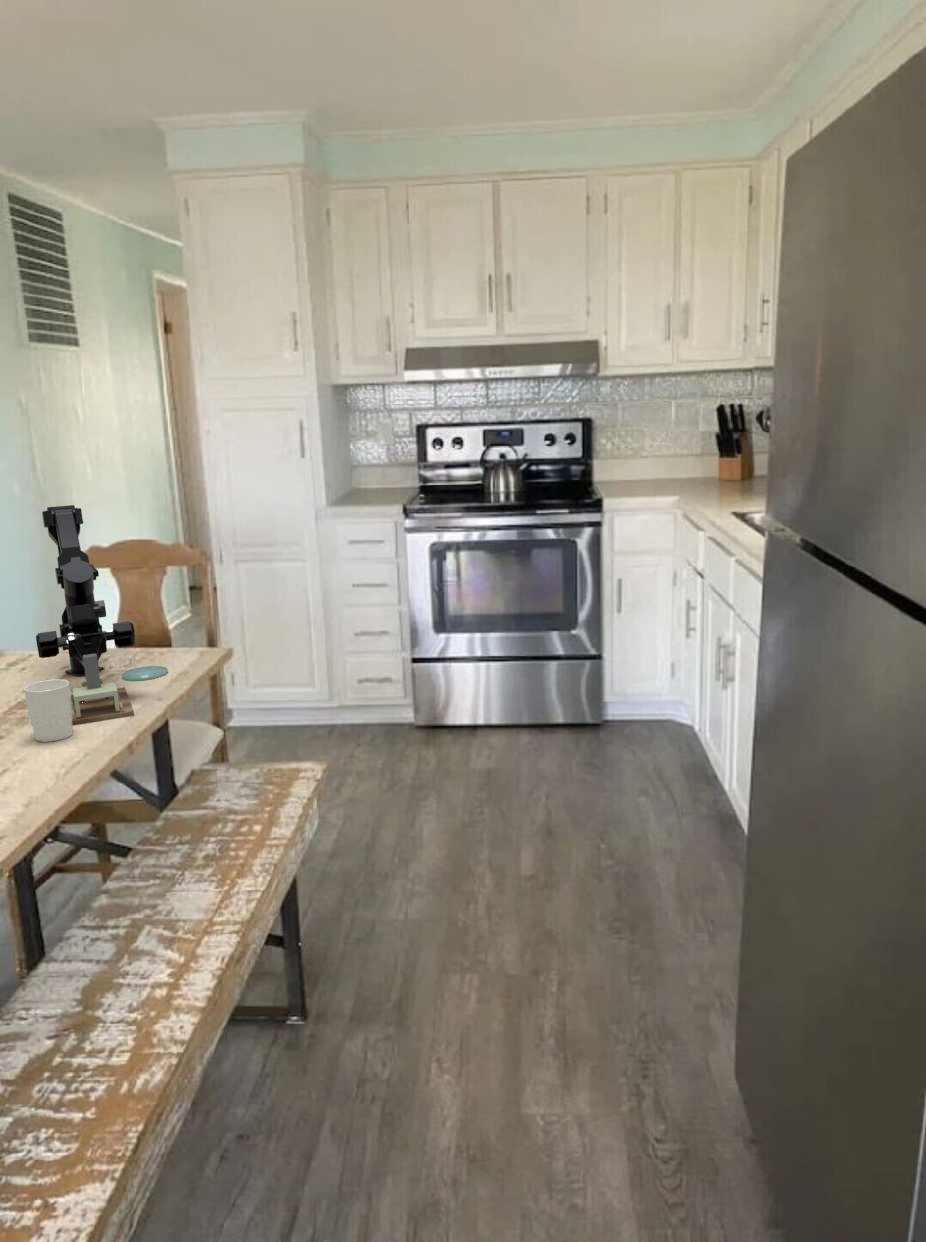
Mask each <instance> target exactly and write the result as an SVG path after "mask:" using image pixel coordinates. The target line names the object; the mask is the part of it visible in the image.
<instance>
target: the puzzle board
mask: <svg viewBox="0 0 926 1242" xmlns="http://www.w3.org/2000/svg"><path fill="white" fill-rule="evenodd" d="M116 688H117V692H118V700H119V707H120V711H116V710H115V707H114V704H113V697H112V696H110V697H105V699H103V700H97V701H90V702H84V701H79V706H80V713H81V717H77V715H76V710H75V703H74V696H73V694H71V705H72V724H73V726H79V725H83V724H84V725H85V724H90V723H91V724H92V723H96V722H97V723H98V722H102V721H111V720H115V719H122V718H128V717H134V716H135V712H134V708H133V705H132V703H131V700H130V698H129V695H128V693H127V690H126V687H125V686H123V687H116ZM82 702H83V703H82Z"/></svg>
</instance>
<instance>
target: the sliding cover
mask: <svg viewBox="0 0 926 1242" xmlns="http://www.w3.org/2000/svg"><path fill="white" fill-rule="evenodd" d="M83 661H84V668H85V675H84V676H85V681H86V682H87V686H86V687H82V686H80V687H74V688H72V695H73V696H74V703H75V710H76V715H77V717H81V713H80V706H79V701H84V700H90V699H97V698H103V697H110V696H112V697H113V704H114V707H115V710H116V711H120V707H119V700H118V692H117V688H118V687H117V686H116V682H109V683H107V682H106V683H103V684H101V683H100V679H101V678H100V671H99V668H98V666H99V661H97V655H96V653H95V654H88V655H83Z"/></svg>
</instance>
